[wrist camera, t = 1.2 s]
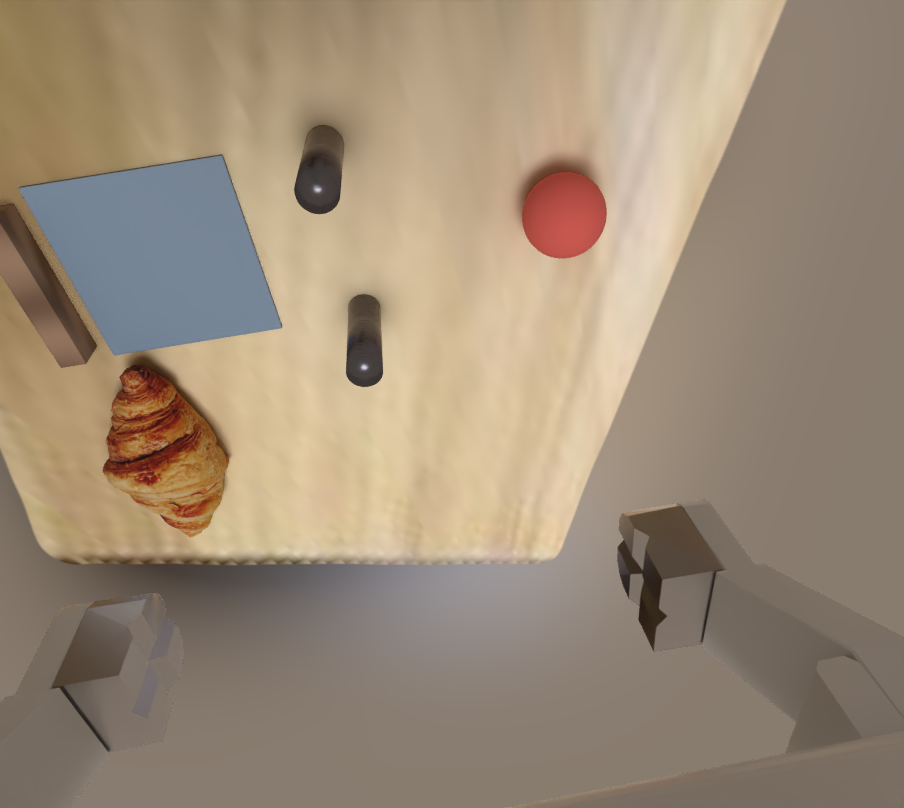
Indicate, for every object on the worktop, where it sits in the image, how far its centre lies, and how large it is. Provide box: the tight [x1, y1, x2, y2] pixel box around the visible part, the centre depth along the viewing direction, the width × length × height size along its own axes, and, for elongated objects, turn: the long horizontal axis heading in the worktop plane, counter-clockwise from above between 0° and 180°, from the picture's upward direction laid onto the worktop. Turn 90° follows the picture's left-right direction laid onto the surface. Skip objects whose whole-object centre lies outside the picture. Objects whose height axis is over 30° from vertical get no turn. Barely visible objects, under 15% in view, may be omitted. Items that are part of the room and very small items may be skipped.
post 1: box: [294, 125, 344, 214], centre depth 39 cm, size 3×3×9 cm
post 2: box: [346, 295, 383, 387], centre depth 48 cm, size 3×3×9 cm
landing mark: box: [18, 155, 282, 355], centre depth 47 cm, size 14×14×1 cm
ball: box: [522, 172, 607, 258], centre depth 45 cm, size 6×6×6 cm
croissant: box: [103, 365, 229, 537], centre depth 56 cm, size 21×10×8 cm, turn 0°
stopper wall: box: [0, 204, 97, 368], centre depth 46 cm, size 12×2×2 cm, turn 7°
